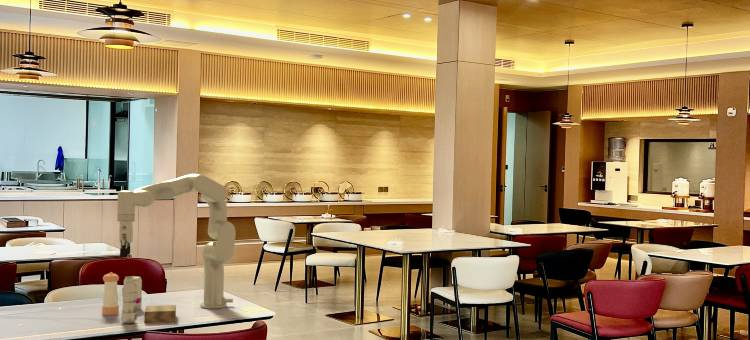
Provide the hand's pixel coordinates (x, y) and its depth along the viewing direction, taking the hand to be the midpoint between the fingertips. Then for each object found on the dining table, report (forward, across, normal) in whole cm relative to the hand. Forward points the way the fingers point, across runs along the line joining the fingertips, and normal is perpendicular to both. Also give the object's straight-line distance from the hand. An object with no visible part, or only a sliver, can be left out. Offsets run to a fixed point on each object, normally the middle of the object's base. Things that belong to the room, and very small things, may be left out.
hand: (125, 255), depth 337 cm
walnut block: (+28, -4, -16) cm, 33 cm away
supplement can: (+28, +22, -1) cm, 36 cm away
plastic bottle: (+28, -10, -4) cm, 30 cm away
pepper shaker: (+28, +11, +7) cm, 31 cm away
